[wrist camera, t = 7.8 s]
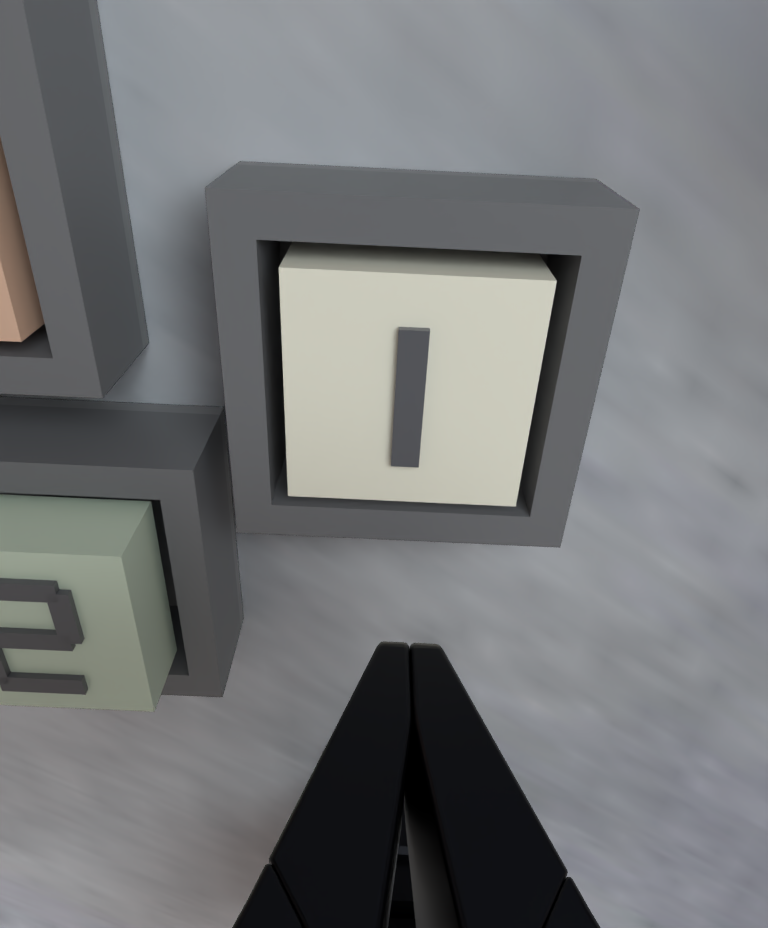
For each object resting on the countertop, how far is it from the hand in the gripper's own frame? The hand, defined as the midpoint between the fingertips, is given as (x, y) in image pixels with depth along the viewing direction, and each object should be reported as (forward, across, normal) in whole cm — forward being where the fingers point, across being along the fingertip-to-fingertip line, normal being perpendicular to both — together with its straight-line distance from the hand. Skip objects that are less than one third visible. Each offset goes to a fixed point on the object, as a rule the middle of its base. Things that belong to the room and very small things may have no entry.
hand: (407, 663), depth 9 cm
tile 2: (+9, +10, +7) cm, 15 cm away
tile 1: (+10, 0, 0) cm, 10 cm away
